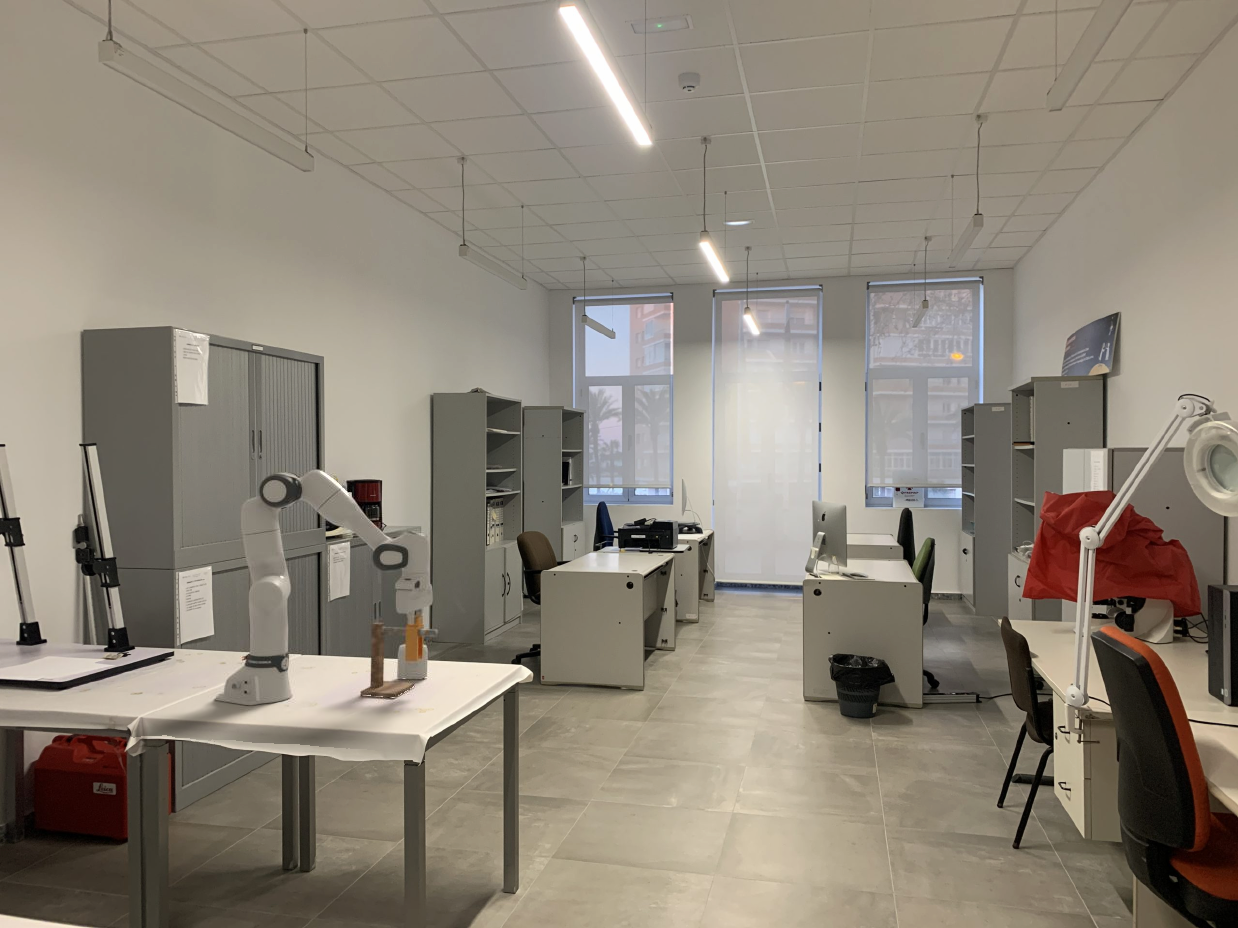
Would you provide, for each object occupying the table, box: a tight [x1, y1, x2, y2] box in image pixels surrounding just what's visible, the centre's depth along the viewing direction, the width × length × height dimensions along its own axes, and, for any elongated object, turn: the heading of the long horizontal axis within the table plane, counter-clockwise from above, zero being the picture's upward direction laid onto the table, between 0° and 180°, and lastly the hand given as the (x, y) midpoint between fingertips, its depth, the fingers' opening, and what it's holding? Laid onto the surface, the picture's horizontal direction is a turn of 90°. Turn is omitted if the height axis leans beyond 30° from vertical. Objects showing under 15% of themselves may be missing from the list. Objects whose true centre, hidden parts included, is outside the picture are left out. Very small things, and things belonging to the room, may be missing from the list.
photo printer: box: [396, 643, 429, 680], centre depth 281 cm, size 10×4×12 cm, turn 98°
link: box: [405, 614, 425, 662], centre depth 261 cm, size 4×5×14 cm
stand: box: [360, 621, 439, 698], centre depth 262 cm, size 22×14×22 cm, turn 79°
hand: (414, 623), depth 261 cm, fingers closed on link, 3 cm apart
